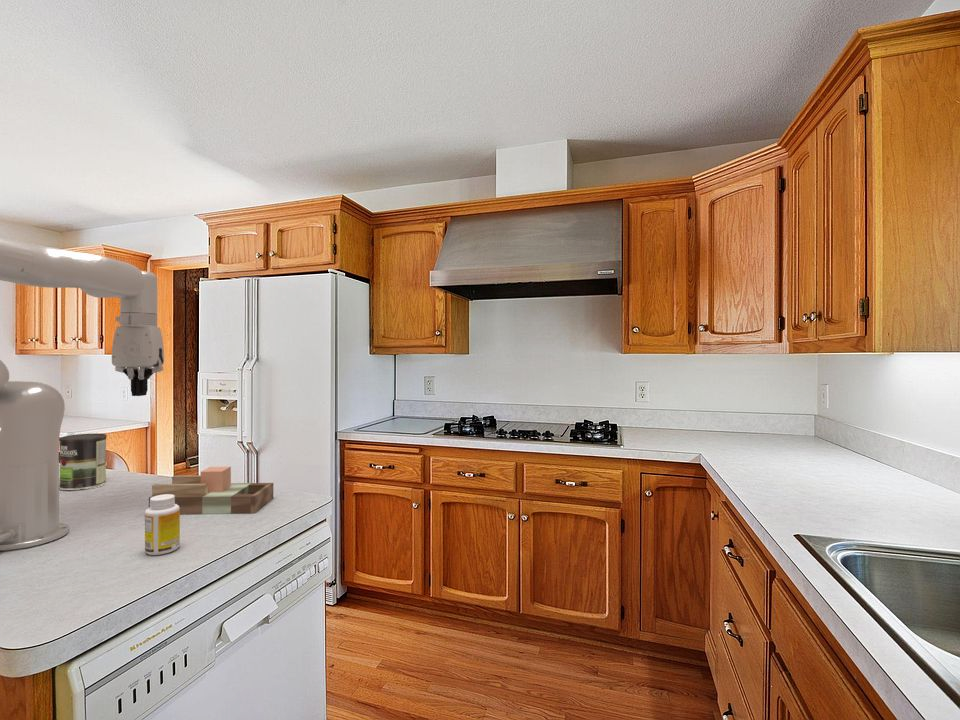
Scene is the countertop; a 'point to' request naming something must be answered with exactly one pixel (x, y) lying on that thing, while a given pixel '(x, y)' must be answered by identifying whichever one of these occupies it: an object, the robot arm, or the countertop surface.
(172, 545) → the supplement bottle
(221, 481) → the block
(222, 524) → the countertop surface
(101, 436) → the coffee can
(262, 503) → the brown rectangular tray
